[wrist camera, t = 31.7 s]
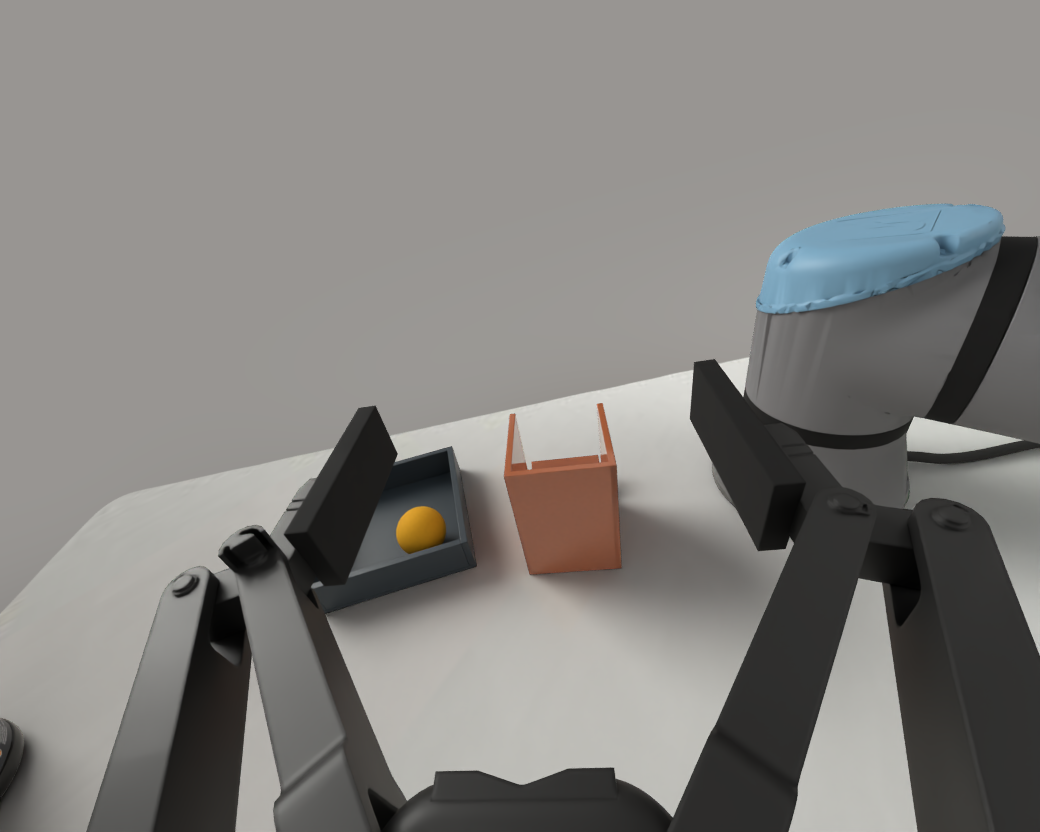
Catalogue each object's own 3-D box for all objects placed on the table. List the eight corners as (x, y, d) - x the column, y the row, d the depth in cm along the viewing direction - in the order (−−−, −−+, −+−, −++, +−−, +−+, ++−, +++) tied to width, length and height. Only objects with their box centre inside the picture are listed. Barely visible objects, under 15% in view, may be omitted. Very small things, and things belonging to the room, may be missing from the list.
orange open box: (621, 568, 36) (616, 465, 29) (529, 574, 37) (503, 476, 30) (604, 474, 45) (597, 380, 38) (531, 481, 46) (511, 390, 39)
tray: (459, 468, 50) (451, 445, 48) (476, 566, 38) (467, 541, 36) (341, 502, 49) (328, 480, 46) (322, 614, 37) (303, 591, 35)
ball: (433, 490, 39) (433, 508, 43) (386, 512, 37) (390, 529, 41) (455, 533, 37) (453, 548, 41) (406, 558, 36) (409, 571, 39)
